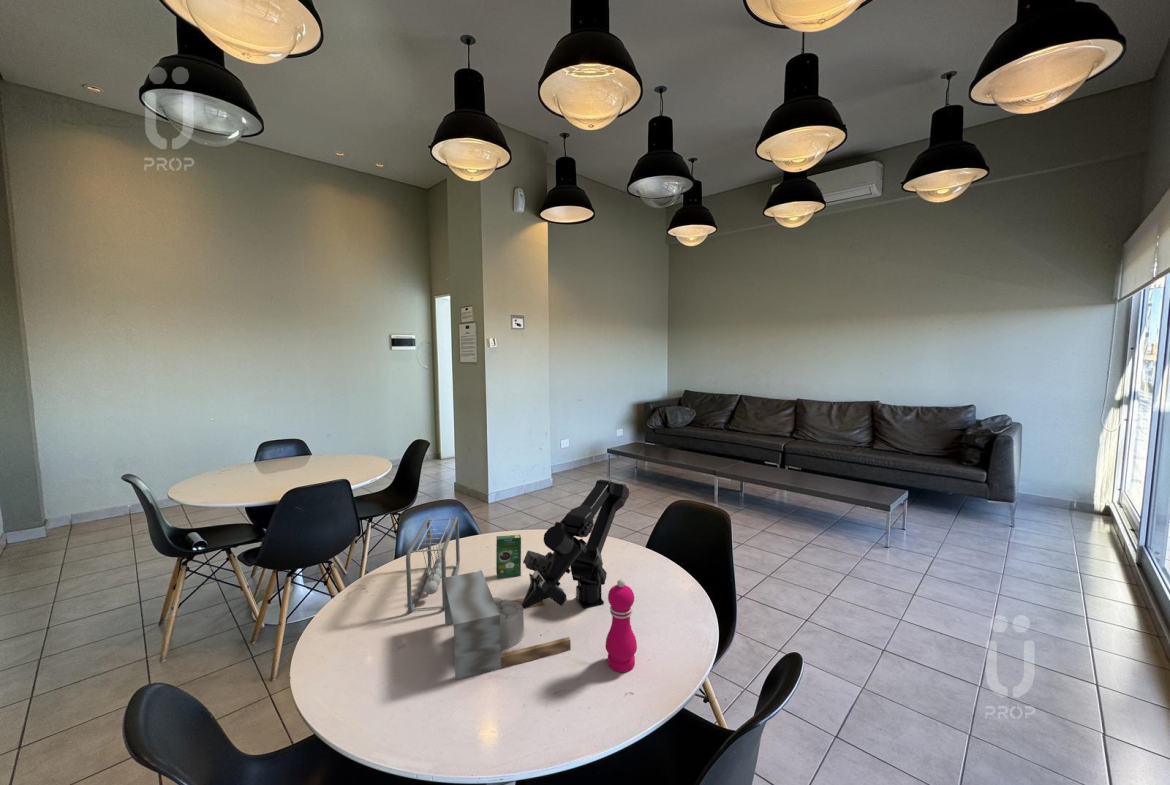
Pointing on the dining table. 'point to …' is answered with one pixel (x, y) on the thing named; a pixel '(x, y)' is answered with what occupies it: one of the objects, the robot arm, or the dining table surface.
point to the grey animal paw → (510, 622)
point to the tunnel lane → (483, 628)
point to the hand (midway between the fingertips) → (523, 607)
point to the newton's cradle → (439, 565)
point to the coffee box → (508, 556)
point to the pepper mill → (621, 629)
